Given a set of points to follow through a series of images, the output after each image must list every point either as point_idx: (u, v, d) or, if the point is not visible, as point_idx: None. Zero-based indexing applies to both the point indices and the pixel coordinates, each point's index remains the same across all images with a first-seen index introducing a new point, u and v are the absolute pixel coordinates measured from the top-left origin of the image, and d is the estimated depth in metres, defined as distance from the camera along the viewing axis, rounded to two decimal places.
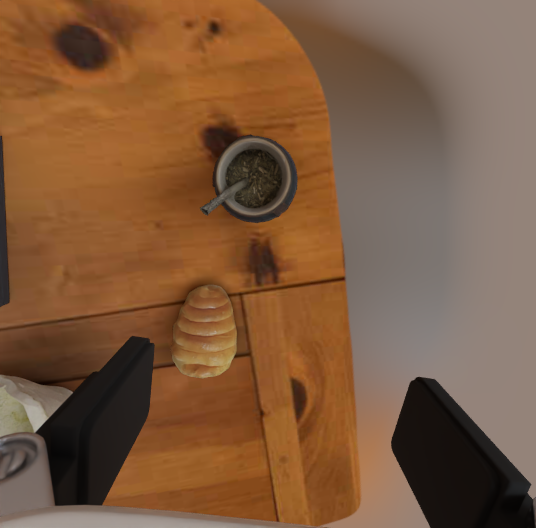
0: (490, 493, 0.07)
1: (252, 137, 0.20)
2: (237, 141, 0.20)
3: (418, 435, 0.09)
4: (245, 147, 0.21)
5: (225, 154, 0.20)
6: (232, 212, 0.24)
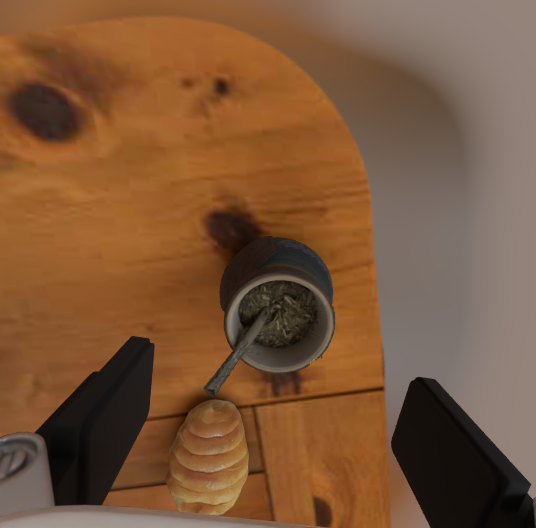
0: (490, 493, 0.07)
1: (279, 274, 0.14)
2: (257, 279, 0.14)
3: (418, 435, 0.09)
4: None
5: (239, 296, 0.14)
6: None
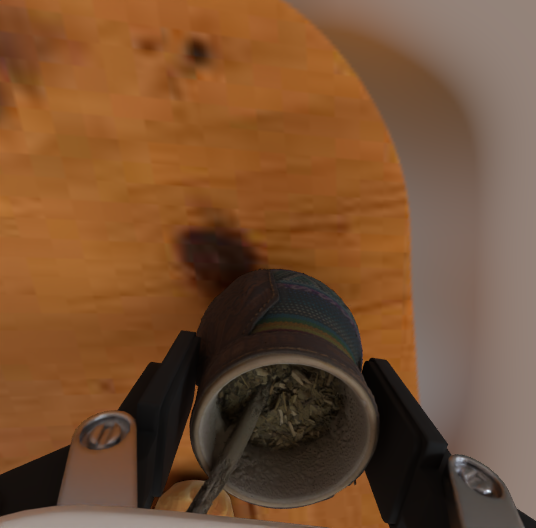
0: (414, 453, 0.07)
1: (285, 353, 0.08)
2: (246, 363, 0.08)
3: None
4: None
5: (215, 391, 0.08)
6: None
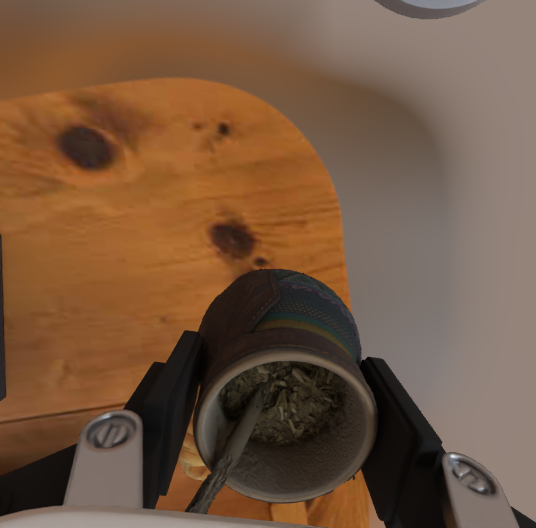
0: (409, 451, 0.07)
1: (287, 351, 0.08)
2: (249, 360, 0.08)
3: None
4: None
5: (218, 388, 0.08)
6: None
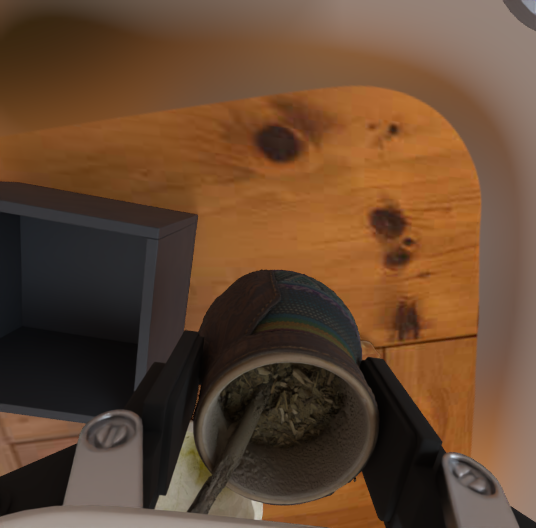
0: (409, 451, 0.07)
1: (288, 352, 0.08)
2: (249, 362, 0.08)
3: None
4: None
5: (219, 389, 0.08)
6: None
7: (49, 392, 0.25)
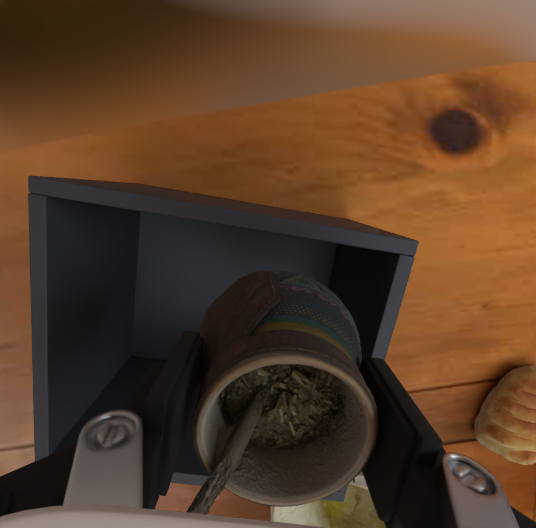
0: (409, 451, 0.07)
1: (286, 354, 0.08)
2: (248, 363, 0.08)
3: None
4: None
5: (218, 391, 0.08)
6: None
7: None
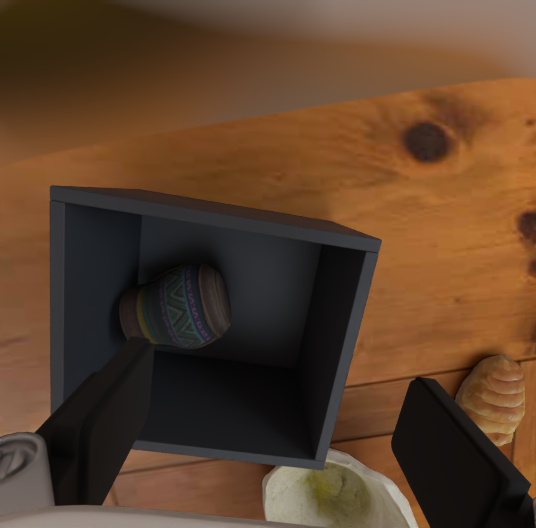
0: (490, 493, 0.07)
1: None
2: None
3: (418, 435, 0.09)
4: None
5: None
6: None
7: (209, 426, 0.22)
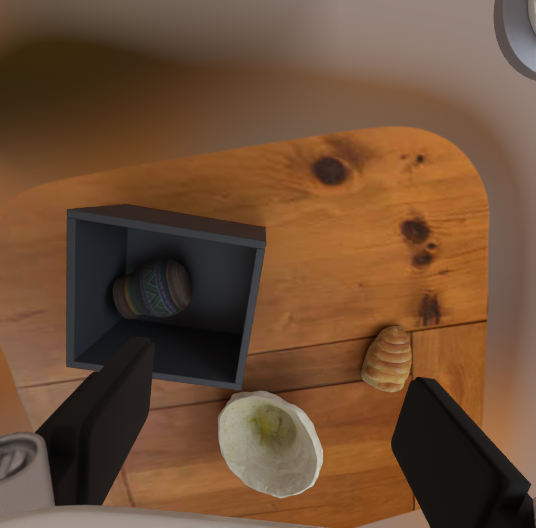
0: (490, 493, 0.07)
1: (115, 281, 0.35)
2: None
3: (418, 435, 0.09)
4: None
5: None
6: None
7: (169, 363, 0.33)
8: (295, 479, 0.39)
